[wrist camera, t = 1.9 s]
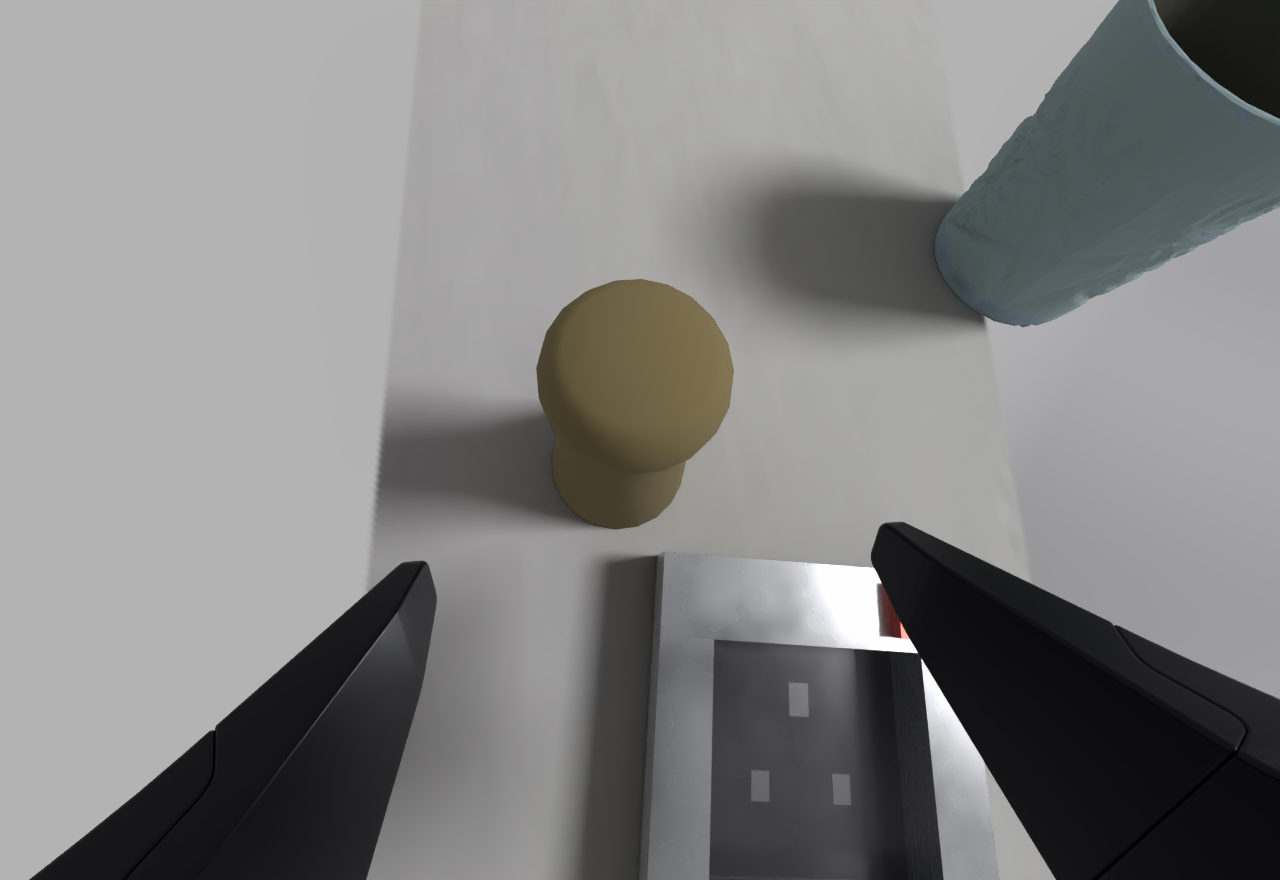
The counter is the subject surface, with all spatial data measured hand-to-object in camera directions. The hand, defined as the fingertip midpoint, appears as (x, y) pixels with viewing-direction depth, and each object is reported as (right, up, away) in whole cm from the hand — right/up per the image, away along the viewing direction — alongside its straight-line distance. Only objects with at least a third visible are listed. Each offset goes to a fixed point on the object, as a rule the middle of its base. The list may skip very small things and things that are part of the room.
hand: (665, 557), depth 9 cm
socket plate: (+6, -10, +9) cm, 15 cm away
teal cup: (+20, +13, +18) cm, 30 cm away
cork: (-2, +1, +12) cm, 12 cm away
